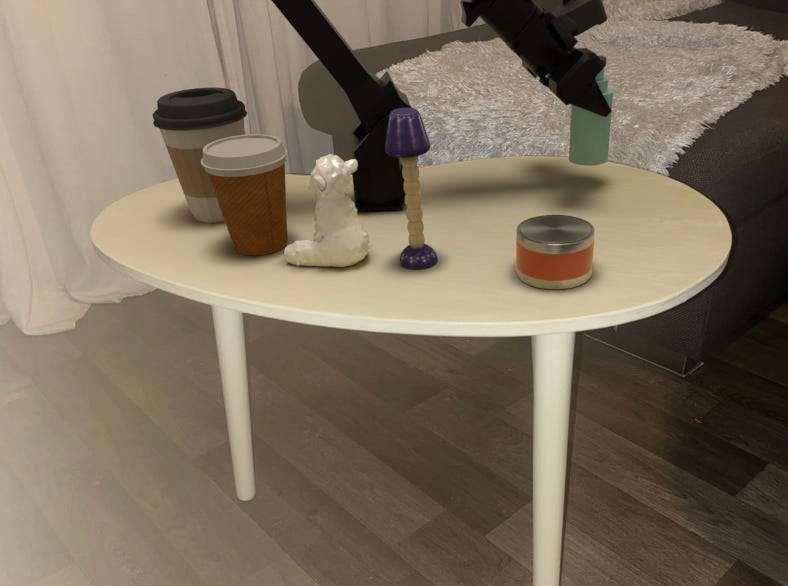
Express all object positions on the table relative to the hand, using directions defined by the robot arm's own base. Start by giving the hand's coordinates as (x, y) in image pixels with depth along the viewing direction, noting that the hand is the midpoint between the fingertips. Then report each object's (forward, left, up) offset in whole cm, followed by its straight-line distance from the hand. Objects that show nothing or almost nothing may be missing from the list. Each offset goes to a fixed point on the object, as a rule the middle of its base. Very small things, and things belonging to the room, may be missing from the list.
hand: (601, 108), depth 99 cm
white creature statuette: (-32, -22, -10) cm, 41 cm away
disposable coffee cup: (-42, -18, -10) cm, 47 cm away
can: (-8, -28, -10) cm, 31 cm away
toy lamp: (-23, -24, -10) cm, 35 cm away
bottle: (-1, 0, -7) cm, 7 cm away
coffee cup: (-50, -7, -10) cm, 52 cm away
